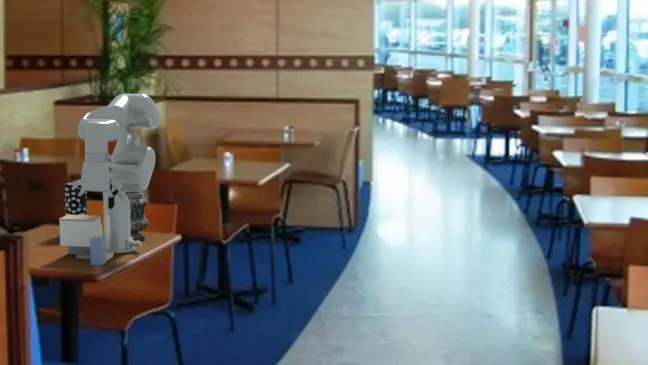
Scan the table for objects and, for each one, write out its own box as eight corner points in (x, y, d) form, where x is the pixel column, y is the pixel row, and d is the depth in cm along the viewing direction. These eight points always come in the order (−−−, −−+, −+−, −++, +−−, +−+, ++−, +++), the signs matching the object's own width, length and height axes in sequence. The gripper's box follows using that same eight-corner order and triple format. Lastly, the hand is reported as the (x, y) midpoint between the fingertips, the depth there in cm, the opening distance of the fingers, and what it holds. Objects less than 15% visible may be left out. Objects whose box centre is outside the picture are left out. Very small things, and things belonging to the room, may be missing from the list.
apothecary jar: (127, 233, 388) (127, 188, 386) (154, 236, 384) (153, 191, 382) (110, 239, 377) (110, 193, 375) (138, 242, 373) (137, 195, 370)
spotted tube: (89, 231, 391) (88, 182, 388) (85, 235, 383) (84, 185, 380) (68, 231, 391) (67, 182, 388) (63, 235, 382) (62, 185, 380)
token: (95, 257, 348) (95, 253, 348) (90, 260, 343) (90, 256, 343) (81, 256, 349) (81, 252, 349) (76, 259, 344) (76, 255, 344)
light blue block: (115, 256, 347) (115, 231, 346) (101, 265, 334) (101, 239, 333) (104, 256, 348) (104, 231, 346) (90, 264, 334) (90, 238, 333)
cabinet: (101, 254, 350) (101, 215, 348) (93, 259, 342) (92, 220, 340) (69, 253, 352) (68, 214, 350) (59, 258, 344) (59, 218, 342)
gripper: (124, 157, 333) (125, 207, 336) (76, 156, 336) (77, 205, 338) (117, 160, 326) (117, 210, 328) (67, 158, 328) (68, 208, 331)
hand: (97, 207), depth 333 cm, fingers open, 9 cm apart
